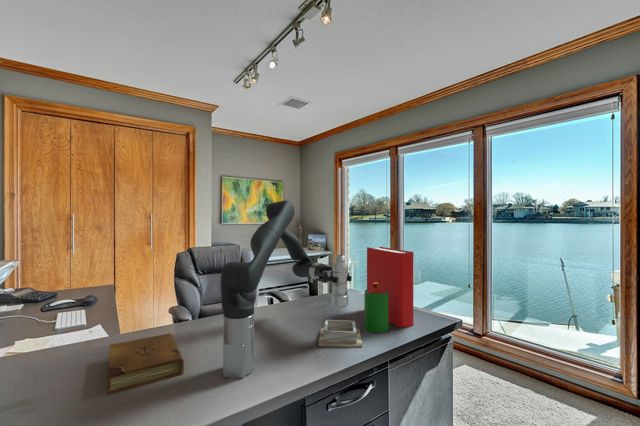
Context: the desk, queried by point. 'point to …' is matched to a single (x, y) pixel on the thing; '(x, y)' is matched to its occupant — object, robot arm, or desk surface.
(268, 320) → the desk surface
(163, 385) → the desk surface
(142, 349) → the diary
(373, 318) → the motor
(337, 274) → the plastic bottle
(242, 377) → the robot arm
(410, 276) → the book
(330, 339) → the mounting cradle
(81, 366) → the desk surface
